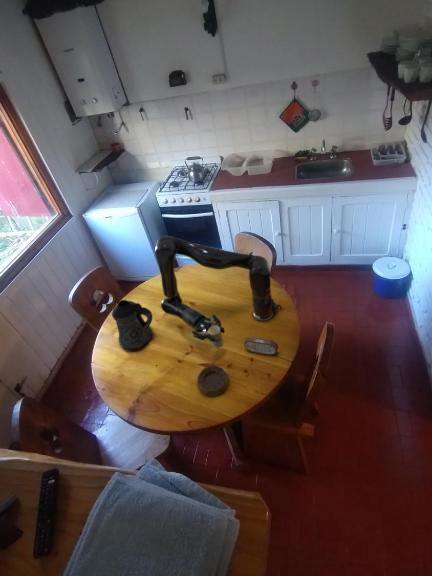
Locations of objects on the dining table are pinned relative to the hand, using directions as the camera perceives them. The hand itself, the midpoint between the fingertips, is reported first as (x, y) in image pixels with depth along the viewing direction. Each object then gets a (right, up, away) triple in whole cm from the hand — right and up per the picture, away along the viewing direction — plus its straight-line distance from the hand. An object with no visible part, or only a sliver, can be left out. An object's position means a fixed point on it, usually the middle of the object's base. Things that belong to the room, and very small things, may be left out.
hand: (219, 335), depth 148 cm
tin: (+19, -9, +8) cm, 22 cm away
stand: (-2, -20, -1) cm, 20 cm away
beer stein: (-40, -6, +27) cm, 48 cm away
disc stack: (-1, -4, +6) cm, 7 cm away
